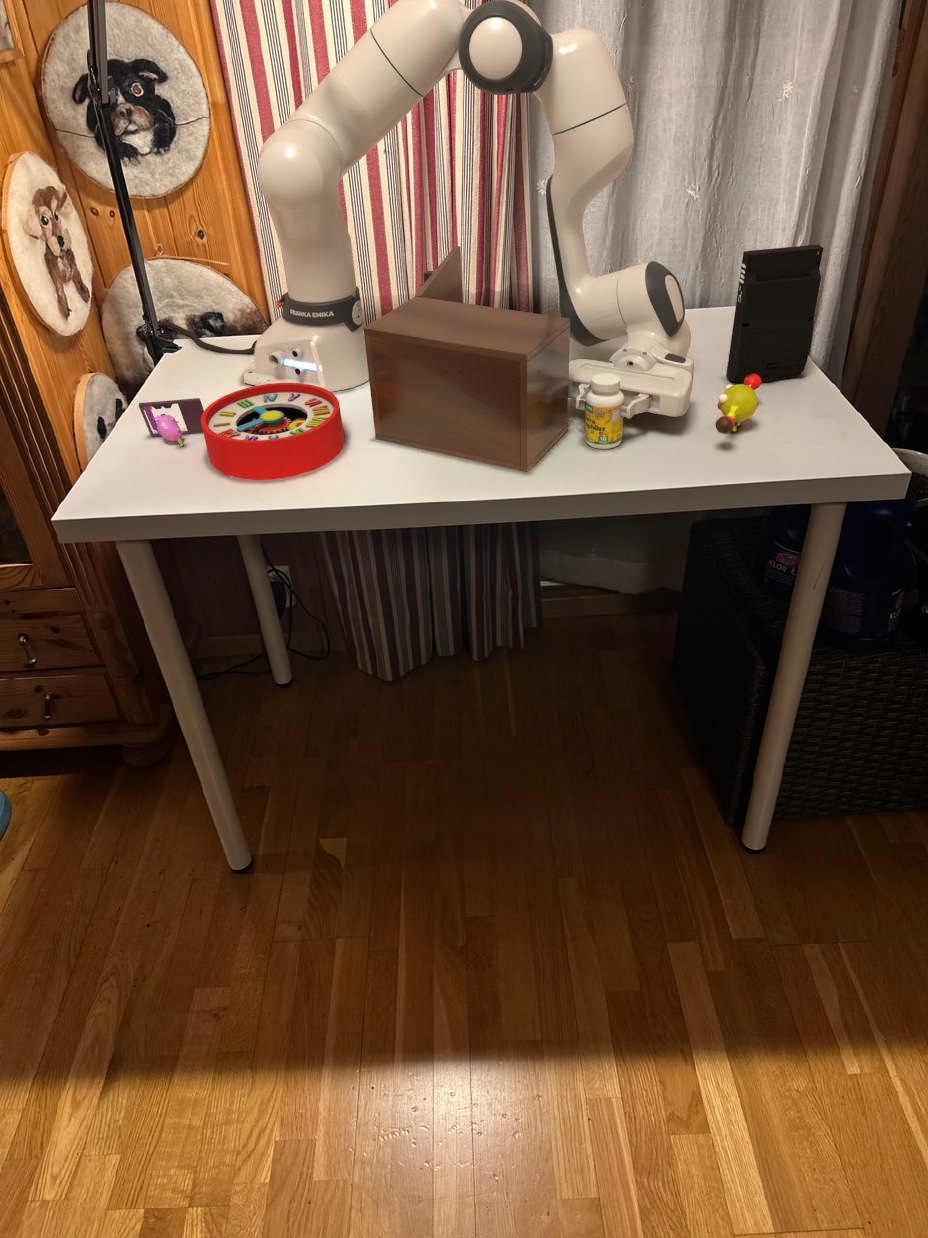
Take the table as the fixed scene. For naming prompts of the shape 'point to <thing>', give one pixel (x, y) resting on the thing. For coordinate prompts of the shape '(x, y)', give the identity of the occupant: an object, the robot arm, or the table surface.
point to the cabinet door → (444, 279)
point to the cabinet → (469, 380)
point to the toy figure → (737, 403)
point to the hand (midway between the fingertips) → (602, 408)
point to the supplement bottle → (604, 412)
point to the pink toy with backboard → (168, 424)
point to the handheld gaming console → (774, 313)
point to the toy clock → (273, 431)
